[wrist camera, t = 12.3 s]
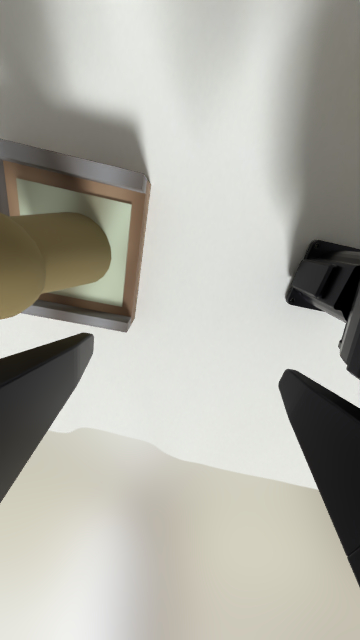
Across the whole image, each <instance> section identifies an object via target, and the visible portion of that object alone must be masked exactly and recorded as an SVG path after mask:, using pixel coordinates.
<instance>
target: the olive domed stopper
mask: <svg viewBox="0 0 360 640" xmlns="http://www.w3.org/2000/svg"><path fill="white" fill-rule="evenodd" d="M110 263H111V247H110V244H109V241H108V238H107V236H106V234H105V233H104V232H103V230H102V229H101V227H100V226H99V225H98V224H97V223H95V222H94V221H93V220H92V219H91V218H89V217H87V216H84V215H82V214H80V213H74V212H59V213H46V214H33V215H20V216H7V215H5V214H2V213H0V320H1V319H5V318H9V317H13V316H15V315H17V314H19V313H21V312H23V311H24V310H25V309H27V308H28V307H30V306H31V305H33V304H34V302H35V301H36V300H37V299H38V298H39V296H40V295H41V294H43V293H48V292H52V291H57V290H62V289H66V288H71V287H76V286H80V285H85V284H89V283H93V282H96V281H98V280H99V279H101V278H102V277H104V275H105V274H106V272H107V271H108V269H109V266H110Z"/></svg>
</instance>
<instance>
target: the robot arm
mask: <svg viewBox="0 0 360 640" xmlns="http://www.w3.org/2000/svg"><path fill="white" fill-rule="evenodd" d="M315 244H318V245H317V247H316V248H315ZM292 298H293V301H290V300H291V299H292ZM286 302H287V303H288V304H290V305H294V306H299V307H304V308H309V309H314V310H319V311H324V312H326V313H328V314H330V315H332V316H334V317H336V318H338V319H340V320H341V321H343V322H345V323H346V326H345V329H344V333H343V336H342V340H340V341H339V345H338V347H339V349H340V356H341V358H342V359H343V361H344V362H345V363H346V364H347V370H348V371H349V372H350V373H351V374H352V375H354V376H355V377H356V378H358V379H359V380H360V249H355V248H351V247H347V246H342V245H338V244H334V243H330V242H325V241H321V240H314V241H312V242H311V244H310V246H309V248H308V250H307V252H306V255H305V257H304V259H303V260H302V261H301V264H300V266H299V268H298V270H297V273H296V275H295V277H294V280H293V282H292V287H291V289H290V291H289V294H288V296H287V298H286ZM93 345H94V336H93V334H89V333H80V334H77V335H74V336H71V337H68V338H65V339H61V340H58V341H55V342H52V343H49V344H46V345H42V346H39V347H36V348H33V349H30V350H27V351H24V352H20V353H17V354H14V355H11V356H8V357H5V358H1V359H0V503H1V501H2V500H3V498H4V497H5V495H6V494H7V492H8V490H9V489H10V487H11V486H12V484H13V483H14V481H15V480H16V478H17V477H18V475H19V474H20V472H21V471H22V469H23V467H24V466H25V464H26V463H27V461H28V460H29V458H30V457H31V455H32V454H33V452H34V451H35V449H36V447H37V446H38V444H39V443H40V441H41V440H42V438H43V437H44V435H45V434H46V432H47V431H48V429H49V428H50V426H51V425H52V423H53V421H54V420H55V418H56V417H57V415H58V414H59V412H60V411H61V409H62V408H63V406H64V405H65V403H66V402H67V400H68V398H69V397H70V395H71V394H72V392H73V391H74V389H75V388H76V386H77V384H78V382H79V381H80V379H81V377H82V375H83V373H84V371H85V369H86V367H87V365H88V363H89V360H90V358H91V356H92V354H93ZM279 390H280V393H281V396H282V399H283V402H284V406H285V409H286V412H287V415H288V418H289V420H290V423H291V425H292V428H293V430H294V432H295V435H296V437H297V440H298V442H299V444H300V447H301V449H302V451H303V454H304V456H305V459H306V461H307V463H308V466H309V468H310V470H311V473H312V475H313V477H314V480H315V482H316V485H317V487H318V489H319V492H320V494H321V496H322V499H323V501H324V503H325V506H326V508H327V510H328V513H329V515H330V518H331V520H332V522H333V525H334V527H335V530H336V532H337V534H338V536H339V539H340V541H341V544H342V546H343V548H344V551H345V553H346V555H347V556H348V557H347V558H348V561H349V563H350V565H351V568H352V570H353V573H354V575H355V577H356V579H357V582H358V584H359V587H360V408H358V407H356V406H355V405H353V404H351V403H350V402H348V401H346V400H345V399H343V398H341V397H340V396H338V395H336V394H335V393H333V392H331V391H330V390H328V389H326V388H325V387H323V386H321V385H320V384H318V383H316V382H315V381H313V380H311V379H310V378H308V377H306V376H305V375H303V374H301V373H300V372H298V371H296V370H292V369H286V370H285V372H284V373H283V375H282V377H281V379H280V381H279Z"/></svg>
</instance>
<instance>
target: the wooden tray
mask: <svg viewBox="0 0 360 640" xmlns="http://www.w3.org/2000/svg"><path fill="white" fill-rule="evenodd" d="M150 188H151V184H150V183H149V181H148V180H147V178H146V176H145V175H144V174H143V173H139V172H135V171H131V170H127V169H123V168H119V167H114V166H110V165H106V164H102V163H98V162H94V161H90V160H86V159H82V158H77V157H73V156H69V155H65V154H61V153H57V152H53V151H49V150H44V149H40V148H36V147H32V146H28V145H24V144H20V143H16V142H11V141H7V140H3V139H0V213H2V214H5V215H7V216H20V215H33V214H46V213H59V212H74V213H80V214H82V215H84V216H87V217H89V218H91V219H92V220H93V221H94V222H95V223H97V224H98V225H99V226H100V227H101V229H102V230H103V232H104V233H105V234H106V236H107V238H108V241H109V244H110V247H111V263H110V266H109V269H108V271H107V272H106V274H105V275H104V277H102V278H101V279H99V280H98V281H96V282H93V283H89V284H85V285H80V286H76V287H71V288H66V289H62V290H57V291H52V292H48V293H43V294H41V295H40V296H39V298H38V299H37V300H36V301H35V302H34V304H33V305H31V306H30V307H28V308H27V309H25V310H24V311H23V312H21V313H23V314H29V315H34V316H40V317H45V318H51V319H56V320H62V321H67V322H73V323H78V324H84V325H89V326H94V327H100V328H105V329H111V330H116V331H122V332H127V331H128V329H129V327H130V326H131V324H132V322H133V320H134V318H135V311H136V302H137V294H138V286H139V278H140V270H141V262H142V253H143V245H144V237H145V229H146V221H147V213H148V204H149V196H150Z"/></svg>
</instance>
